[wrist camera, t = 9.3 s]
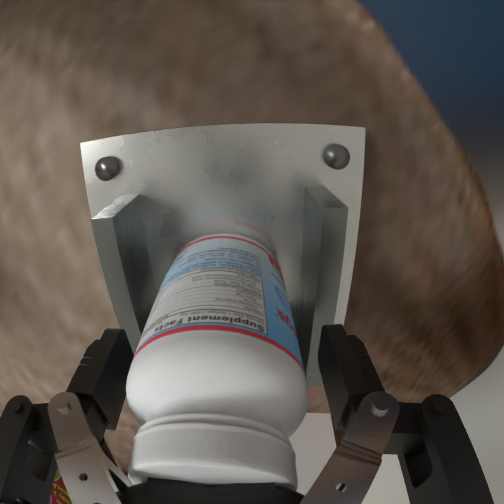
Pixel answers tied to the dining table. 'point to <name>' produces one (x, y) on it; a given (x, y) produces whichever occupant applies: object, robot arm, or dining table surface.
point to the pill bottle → (218, 371)
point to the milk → (312, 448)
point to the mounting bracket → (230, 211)
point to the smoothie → (59, 491)
